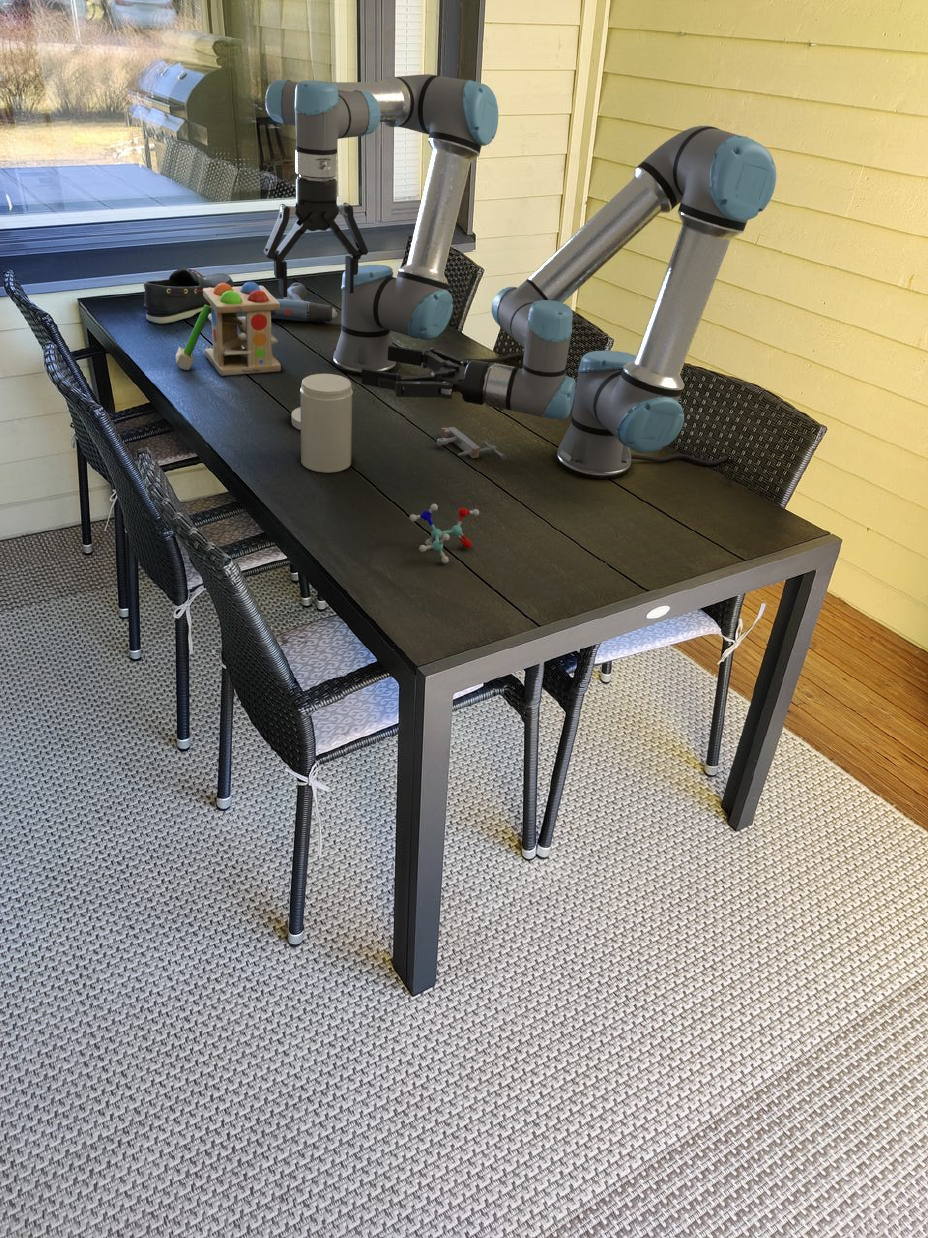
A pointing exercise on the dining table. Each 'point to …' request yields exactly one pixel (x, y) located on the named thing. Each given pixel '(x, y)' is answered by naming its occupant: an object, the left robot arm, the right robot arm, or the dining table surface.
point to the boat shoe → (179, 295)
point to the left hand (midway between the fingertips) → (316, 293)
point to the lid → (296, 418)
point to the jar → (326, 422)
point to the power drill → (302, 307)
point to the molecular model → (437, 533)
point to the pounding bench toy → (229, 347)
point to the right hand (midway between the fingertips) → (375, 363)
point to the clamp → (464, 443)
